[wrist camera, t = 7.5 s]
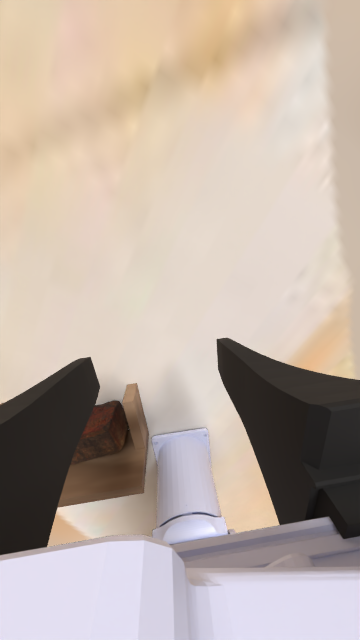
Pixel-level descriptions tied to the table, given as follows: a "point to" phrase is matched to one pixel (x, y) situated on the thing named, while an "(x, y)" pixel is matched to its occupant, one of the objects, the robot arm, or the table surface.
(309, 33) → the table surface
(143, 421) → the book rack
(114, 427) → the brick
